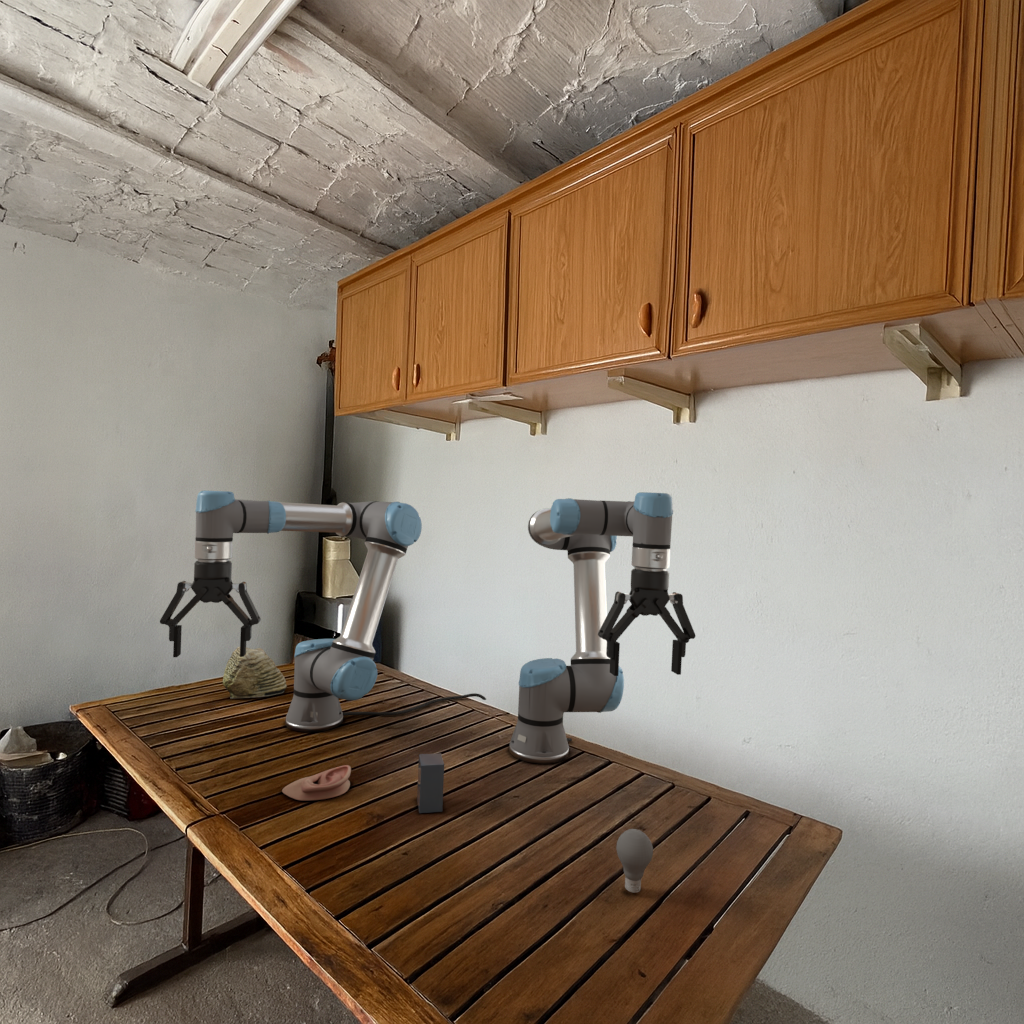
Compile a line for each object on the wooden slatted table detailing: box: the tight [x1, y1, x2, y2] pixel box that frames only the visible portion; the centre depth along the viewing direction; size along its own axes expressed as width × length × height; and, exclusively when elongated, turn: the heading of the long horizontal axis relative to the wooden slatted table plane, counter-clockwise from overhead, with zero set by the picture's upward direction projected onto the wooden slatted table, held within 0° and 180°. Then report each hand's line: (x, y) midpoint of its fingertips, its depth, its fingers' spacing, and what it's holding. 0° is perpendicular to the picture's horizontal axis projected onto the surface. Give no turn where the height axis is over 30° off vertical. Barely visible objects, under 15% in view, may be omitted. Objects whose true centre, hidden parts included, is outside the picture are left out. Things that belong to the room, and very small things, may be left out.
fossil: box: [222, 646, 288, 699], centre depth 198 cm, size 9×18×15 cm, turn 132°
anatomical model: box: [281, 764, 352, 802], centre depth 137 cm, size 13×4×12 cm
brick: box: [416, 752, 445, 814], centre depth 132 cm, size 5×6×10 cm
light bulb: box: [615, 828, 654, 894], centre depth 106 cm, size 6×6×10 cm
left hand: (210, 655), depth 141 cm, fingers open, 13 cm apart
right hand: (645, 673), depth 128 cm, fingers open, 13 cm apart
